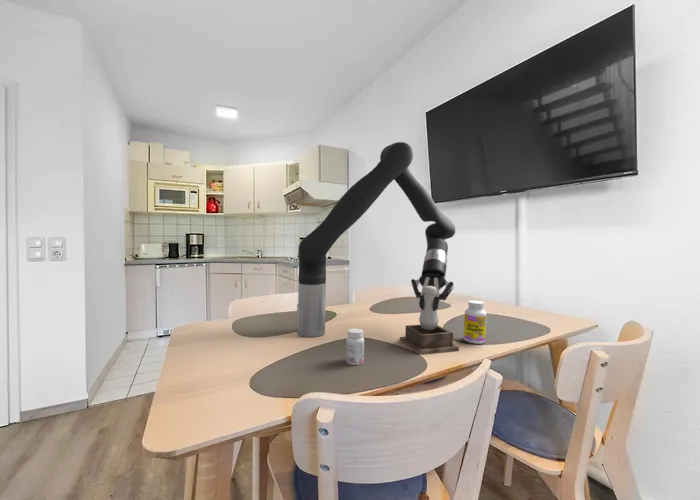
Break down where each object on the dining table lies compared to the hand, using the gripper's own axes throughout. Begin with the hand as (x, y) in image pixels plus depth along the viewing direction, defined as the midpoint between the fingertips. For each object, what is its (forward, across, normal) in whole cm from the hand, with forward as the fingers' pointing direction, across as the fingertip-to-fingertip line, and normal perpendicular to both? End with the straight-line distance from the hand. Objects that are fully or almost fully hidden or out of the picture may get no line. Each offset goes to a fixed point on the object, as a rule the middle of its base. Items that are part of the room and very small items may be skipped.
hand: (428, 308), depth 96 cm
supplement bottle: (0, +13, +17) cm, 22 cm away
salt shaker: (+3, 0, +6) cm, 7 cm away
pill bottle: (+23, -16, -6) cm, 28 cm away
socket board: (+7, 0, +10) cm, 12 cm away
